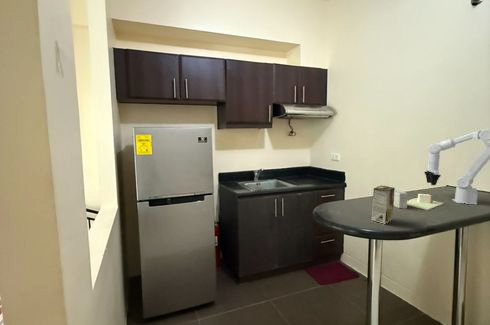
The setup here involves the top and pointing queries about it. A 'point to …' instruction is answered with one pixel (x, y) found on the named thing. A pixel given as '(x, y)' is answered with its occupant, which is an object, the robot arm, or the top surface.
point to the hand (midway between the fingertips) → (431, 183)
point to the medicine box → (400, 199)
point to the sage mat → (423, 204)
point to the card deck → (425, 198)
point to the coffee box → (383, 204)
